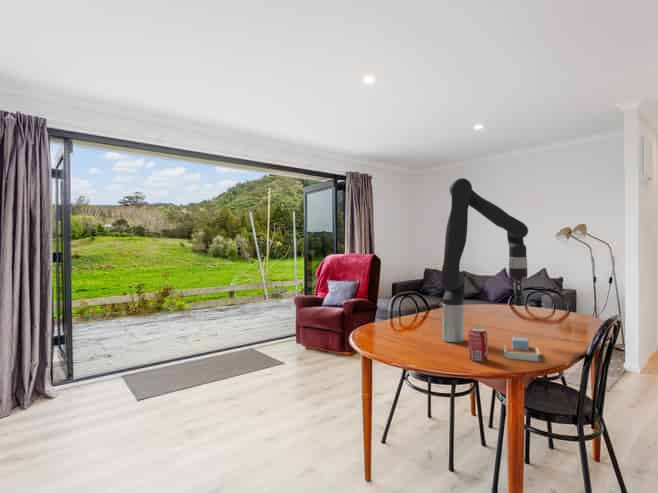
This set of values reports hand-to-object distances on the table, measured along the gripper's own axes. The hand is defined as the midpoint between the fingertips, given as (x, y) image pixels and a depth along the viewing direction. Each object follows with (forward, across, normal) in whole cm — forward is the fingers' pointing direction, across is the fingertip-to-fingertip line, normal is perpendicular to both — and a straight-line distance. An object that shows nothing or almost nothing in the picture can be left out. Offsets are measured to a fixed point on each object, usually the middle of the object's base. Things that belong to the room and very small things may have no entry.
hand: (518, 305), depth 172 cm
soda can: (+17, -32, +16) cm, 40 cm away
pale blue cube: (+17, -9, 0) cm, 19 cm away
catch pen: (+17, -21, 0) cm, 27 cm away
